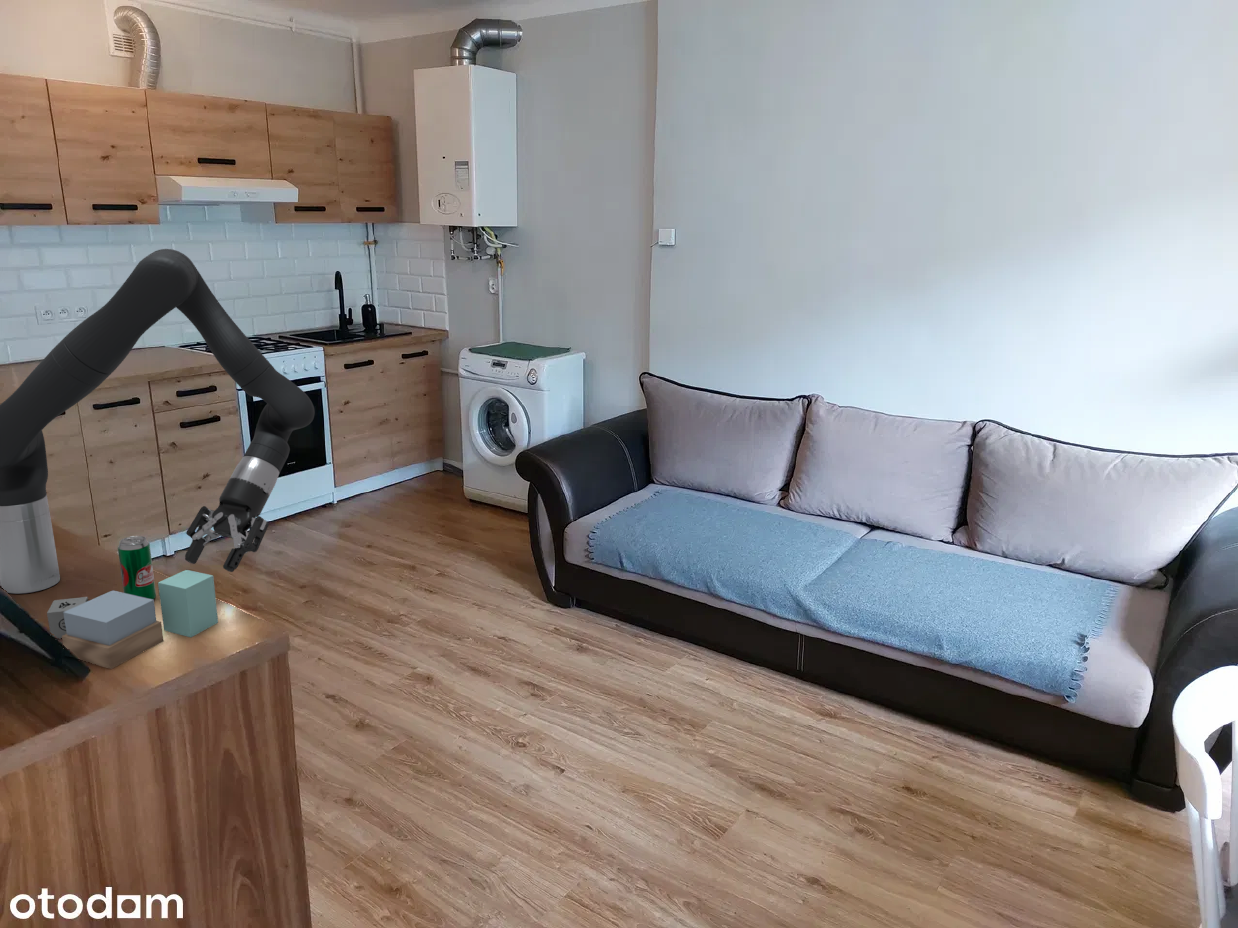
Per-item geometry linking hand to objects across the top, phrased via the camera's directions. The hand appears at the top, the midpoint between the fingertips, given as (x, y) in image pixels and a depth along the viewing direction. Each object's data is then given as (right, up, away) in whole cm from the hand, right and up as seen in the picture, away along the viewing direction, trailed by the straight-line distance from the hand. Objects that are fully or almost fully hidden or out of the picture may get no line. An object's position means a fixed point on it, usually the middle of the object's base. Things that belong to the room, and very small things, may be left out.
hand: (208, 566), depth 151 cm
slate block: (-10, -9, -11) cm, 18 cm away
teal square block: (-2, -10, -2) cm, 11 cm away
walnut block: (-10, -13, -10) cm, 19 cm away
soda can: (-16, -7, +7) cm, 19 cm away
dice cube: (-21, -11, -5) cm, 24 cm away
